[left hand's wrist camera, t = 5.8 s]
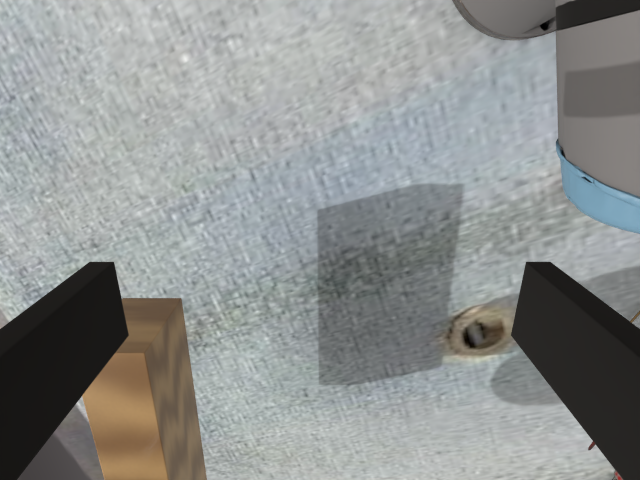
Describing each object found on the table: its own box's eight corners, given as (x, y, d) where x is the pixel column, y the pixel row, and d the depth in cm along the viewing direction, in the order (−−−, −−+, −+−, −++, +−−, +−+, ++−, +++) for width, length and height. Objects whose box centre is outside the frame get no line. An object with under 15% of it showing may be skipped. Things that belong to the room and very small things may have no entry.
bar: (122, 297, 35) (70, 352, 28) (181, 298, 35) (144, 352, 28) (162, 495, 44) (130, 576, 37) (209, 495, 44) (186, 576, 37)
